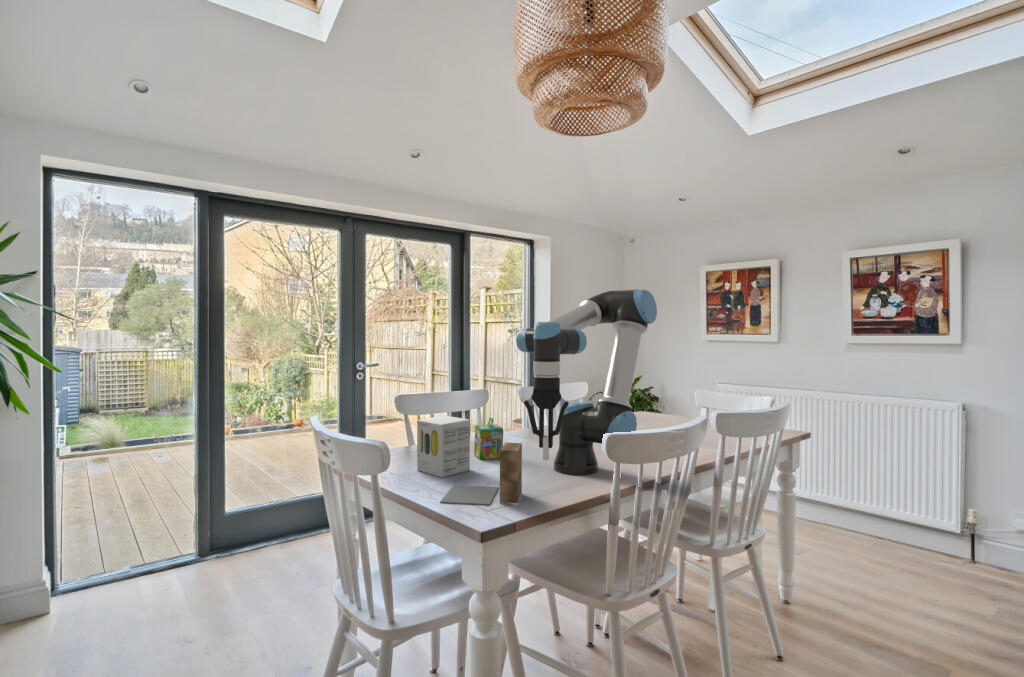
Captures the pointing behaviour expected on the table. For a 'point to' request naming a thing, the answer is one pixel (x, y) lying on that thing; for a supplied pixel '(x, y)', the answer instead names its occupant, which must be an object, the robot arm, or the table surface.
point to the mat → (470, 495)
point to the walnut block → (510, 473)
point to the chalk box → (488, 441)
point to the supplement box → (443, 445)
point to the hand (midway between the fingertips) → (545, 459)
